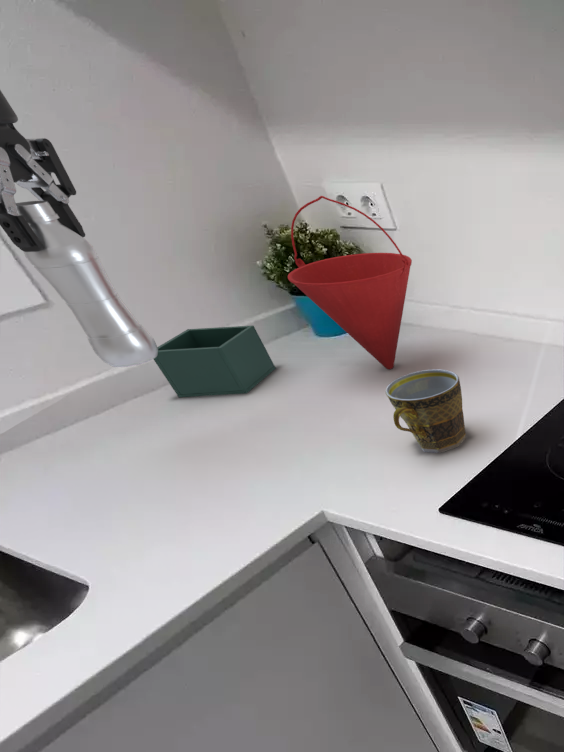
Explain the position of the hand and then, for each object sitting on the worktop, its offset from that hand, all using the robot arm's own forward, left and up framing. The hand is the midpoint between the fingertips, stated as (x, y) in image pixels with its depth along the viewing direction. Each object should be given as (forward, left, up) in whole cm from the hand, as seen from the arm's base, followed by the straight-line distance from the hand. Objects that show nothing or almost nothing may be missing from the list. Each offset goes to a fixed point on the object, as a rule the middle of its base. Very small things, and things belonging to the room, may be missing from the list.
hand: (55, 243), depth 68 cm
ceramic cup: (+39, -6, -30) cm, 49 cm away
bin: (-7, +23, -29) cm, 38 cm away
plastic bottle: (0, 0, -16) cm, 16 cm away
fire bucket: (+22, +25, -30) cm, 45 cm away
